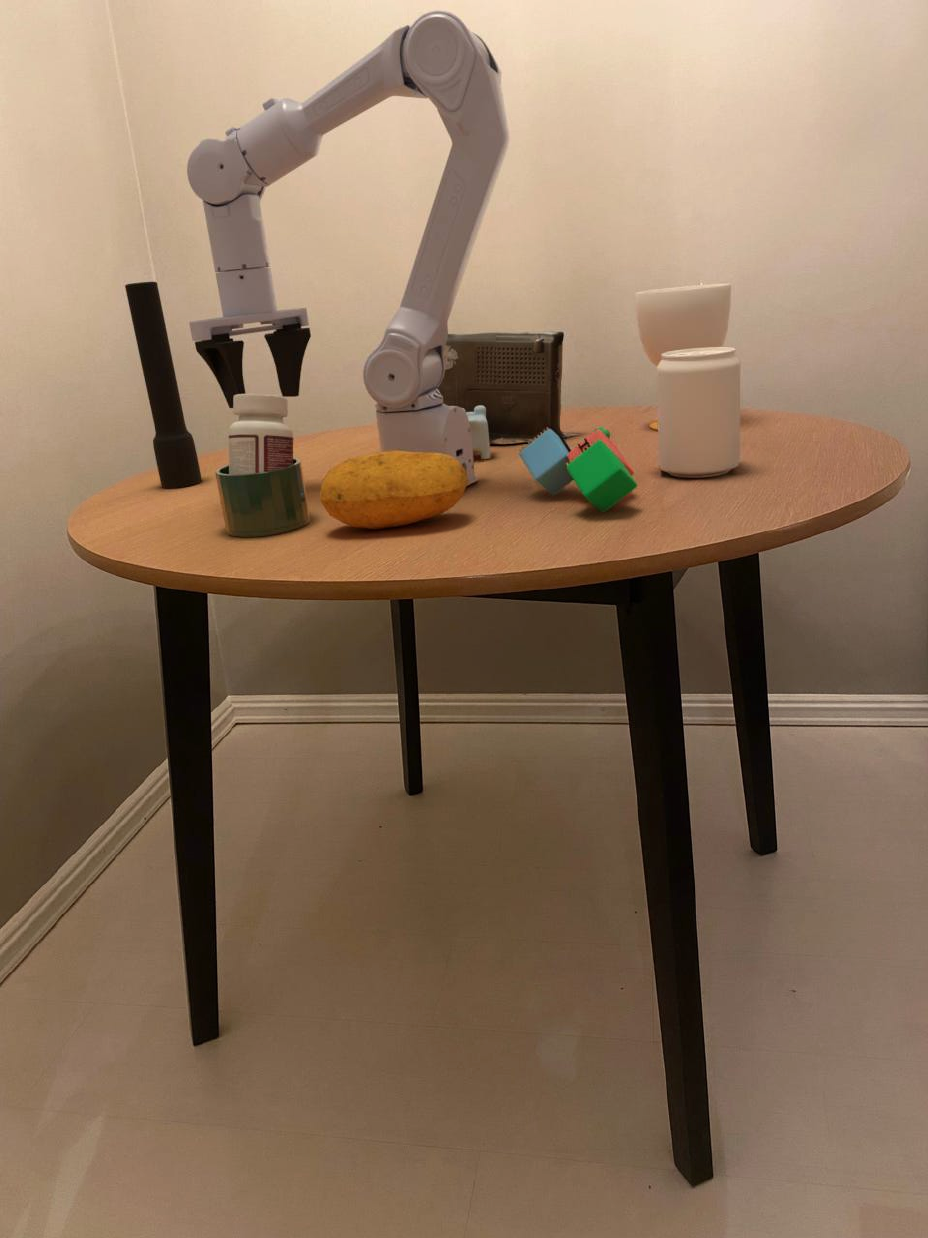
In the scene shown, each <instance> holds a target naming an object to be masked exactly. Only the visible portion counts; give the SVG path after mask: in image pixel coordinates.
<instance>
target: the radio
mask: <svg viewBox="0 0 928 1238" xmlns="http://www.w3.org/2000/svg"><path fill="white" fill-rule="evenodd" d="M564 333H565V332H564V331H551V330H549V331H545V330H544V331H524V332H503V331H502V332H500V331H499V332H497V331H496V332H494V331H493V332H479V333H448V339H447V342H446V345H445V349H444V362H445V373H444V377H443V380H442V382H441V384H440V385H439V386H438V388H437V389H438V390H439V392H440V393H441V395H442V396H443V404H445V405H447V406H458V407H460V408H464V409H465V411H466V412H474V408H475V407H476V406H484V407H485V408H486V420H487V422H488V432H489V444H490V445H507V444H510V445H511V444H519V443H520V444H521V443H528V442H530V443H532V442H531V440H533V441H534V440H535V439H534V437H536V439H537V438H538V437H537V435H539V436H540V435H541V434H540V433H541V432H542V434H543V433H544V432H543V430H545V431H546V430H547V429H546V428H547V427H548V428H549V429H551V430H552V431H554V432H555V433H556V434H557V435H558V433H559V435H560V436H561V437H563V439H566V438H569V437H574V436H579V435H580V434H578V433H569V432H563V431H562V430H561V415H562V413H561V412H562V377H563V348H564V347H563V345H564V343H563V342H564V339H565V338H564V337H565V334H564Z"/></svg>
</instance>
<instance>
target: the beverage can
mask: <svg viewBox="0 0 928 1238" xmlns="http://www.w3.org/2000/svg"><path fill="white" fill-rule="evenodd" d="M661 357H662V360H661V361H660V363H659V365H658V366H656V393H657V394H656V397H657V398H656V400H657V401H656V403H657V421H658V430H657V438H658V439H657V441H658V442H657V443H658V467H659V469H660V470H661V471H663V472H665V473H668V474H669V475H670V476H673V477H678V478H690V479H691V478H694V479H697V478H709V477H717V476H720V475H724V474H727V473H729V472H730V470H733V469H735V468H737V467H738V466H739V465H740V461H741V457H740V456H741V455H740V454H741V452H740V451H741V450H740V449H741V362H740V360H739V358H738V356H737V354H736V348H735V347H727V346H722V347H707V348H693V349H683V350H676V351H670V352H666V353H663V354H662V355H661Z"/></svg>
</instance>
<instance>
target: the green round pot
mask: <svg viewBox="0 0 928 1238" xmlns="http://www.w3.org/2000/svg"><path fill="white" fill-rule="evenodd" d="M214 474H215V480H216V485H217V490H218V495H219V500H220V505H221V506H220V507H221V512H222V516H223V521H224V527H225V530H226V533H227V535H229V536H233V537H238V538H258V537H259V538H260V537H266V536H267V537H268V536H274V535H279V534H285V533H289V532H292V531H295V530H297V529H300V528H302V527H304V526H307V525H308V524H309V523H310V521H311V517H310V509H309V503H308V497H307V492H306V485H305V477H304V472H303V465H302V460H301V459H300V458H297V457H293V465H290V466H288V467H284V468H281V469H277V470H272V471H266V472H260V473H251V474H238V475H232V474H229V464H226V465H223V466H221V467H219V468H217V469H216V470H215V471H214Z"/></svg>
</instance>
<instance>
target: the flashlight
mask: <svg viewBox="0 0 928 1238" xmlns="http://www.w3.org/2000/svg"><path fill="white" fill-rule="evenodd" d="M124 289H125V293H126V298H127V302H128V308H129V312H130V316H131V321H132V327H133V331H134V336H135V340H136V345H137V350H138V355H139V359H140V364H141V369H142V374H143V379H144V383H145V387H146V392H147V397H148V401H149V407H150V412H151V417H152V421H153V427H154V432H155V433H154V434H155V436H154V437H153V439H152V445H153V447H152V448H153V452H154V457H155V463H156V466H157V471H158V476H159V481H160V486H161V488H162V489H179V488H187V487H191V486H195V485H198V484H200V483H202V482H203V478H202V473H201V468H200V467H201V466H200V463H199V458H198V453H197V449H196V444H195V439H194V437H193V434H192V433H191V432H189V430H188V429H187V425H186V421H185V415H184V411H183V405H182V400H181V395H180V389H179V386H178V380H177V375H176V370H175V366H174V365H175V364H174V360H173V354H172V350H171V346H170V340H169V335H168V330H167V325H166V320H165V316H164V311H163V305H162V301H161V296H160V295H161V294H160V291H159V290H160V289H159V285H158V282H157V281H141V282H133V283H127V284H125V285H124Z"/></svg>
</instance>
